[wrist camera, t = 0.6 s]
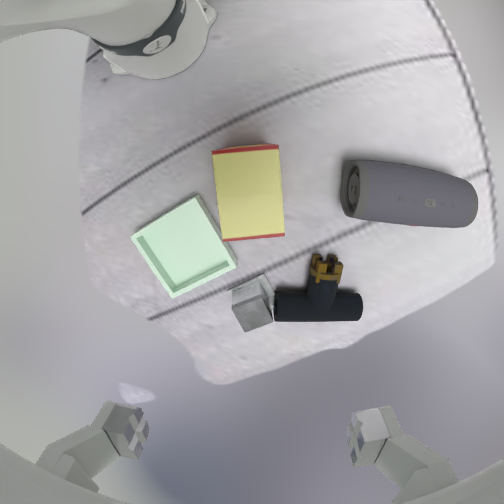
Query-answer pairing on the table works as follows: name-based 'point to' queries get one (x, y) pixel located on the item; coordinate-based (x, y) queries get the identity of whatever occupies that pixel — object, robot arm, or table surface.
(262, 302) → the brushed steel cube
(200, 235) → the tray
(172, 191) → the table surface
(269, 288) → the stud
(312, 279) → the pipe connector
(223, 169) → the baking soda box
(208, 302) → the table surface
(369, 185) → the bluetooth speaker
